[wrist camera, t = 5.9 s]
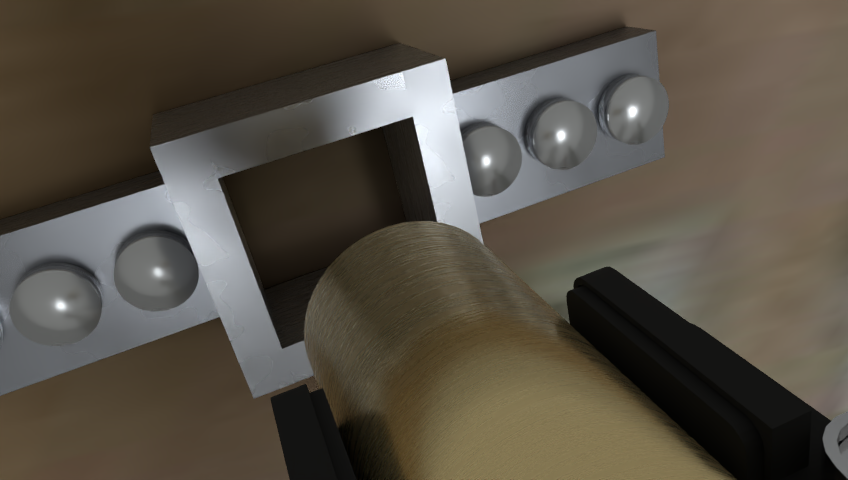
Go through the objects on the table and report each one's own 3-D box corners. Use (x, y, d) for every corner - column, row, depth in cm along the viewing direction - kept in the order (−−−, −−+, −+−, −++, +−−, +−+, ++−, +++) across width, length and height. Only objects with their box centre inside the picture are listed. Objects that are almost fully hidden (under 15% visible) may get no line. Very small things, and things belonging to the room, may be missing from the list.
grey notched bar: (-12, 424, 21) (-48, 515, 18) (-154, 203, 18) (-232, 261, 15) (640, 185, 26) (713, 220, 23) (622, -23, 23) (704, -20, 19)
